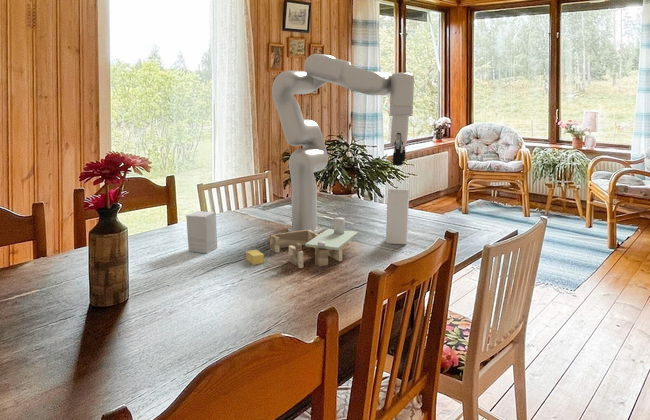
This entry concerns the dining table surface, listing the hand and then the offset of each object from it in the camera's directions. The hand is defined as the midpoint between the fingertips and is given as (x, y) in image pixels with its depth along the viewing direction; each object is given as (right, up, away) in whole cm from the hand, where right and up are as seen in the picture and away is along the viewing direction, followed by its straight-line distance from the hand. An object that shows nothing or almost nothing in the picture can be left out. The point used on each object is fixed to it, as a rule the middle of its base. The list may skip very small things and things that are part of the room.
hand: (399, 163), depth 185 cm
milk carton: (+1, -27, +13) cm, 30 cm away
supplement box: (-66, -29, +2) cm, 73 cm away
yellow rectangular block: (-47, -32, -10) cm, 58 cm away
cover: (-23, -26, -5) cm, 35 cm away
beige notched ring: (-31, -31, -3) cm, 44 cm away
